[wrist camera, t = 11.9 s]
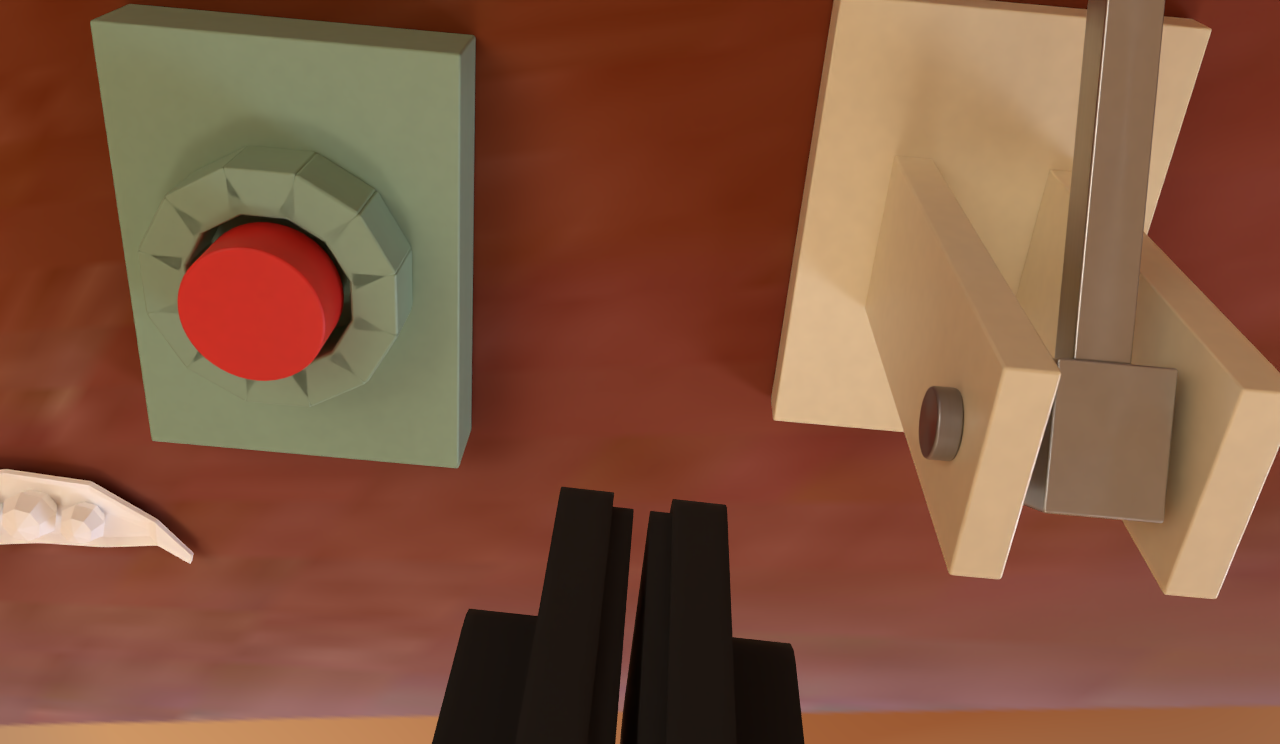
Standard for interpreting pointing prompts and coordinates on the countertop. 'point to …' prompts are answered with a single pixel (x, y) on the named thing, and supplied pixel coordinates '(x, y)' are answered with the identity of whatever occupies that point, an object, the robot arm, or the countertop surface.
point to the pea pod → (76, 515)
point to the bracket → (997, 278)
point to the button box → (301, 218)
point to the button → (261, 301)
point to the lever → (1108, 289)
